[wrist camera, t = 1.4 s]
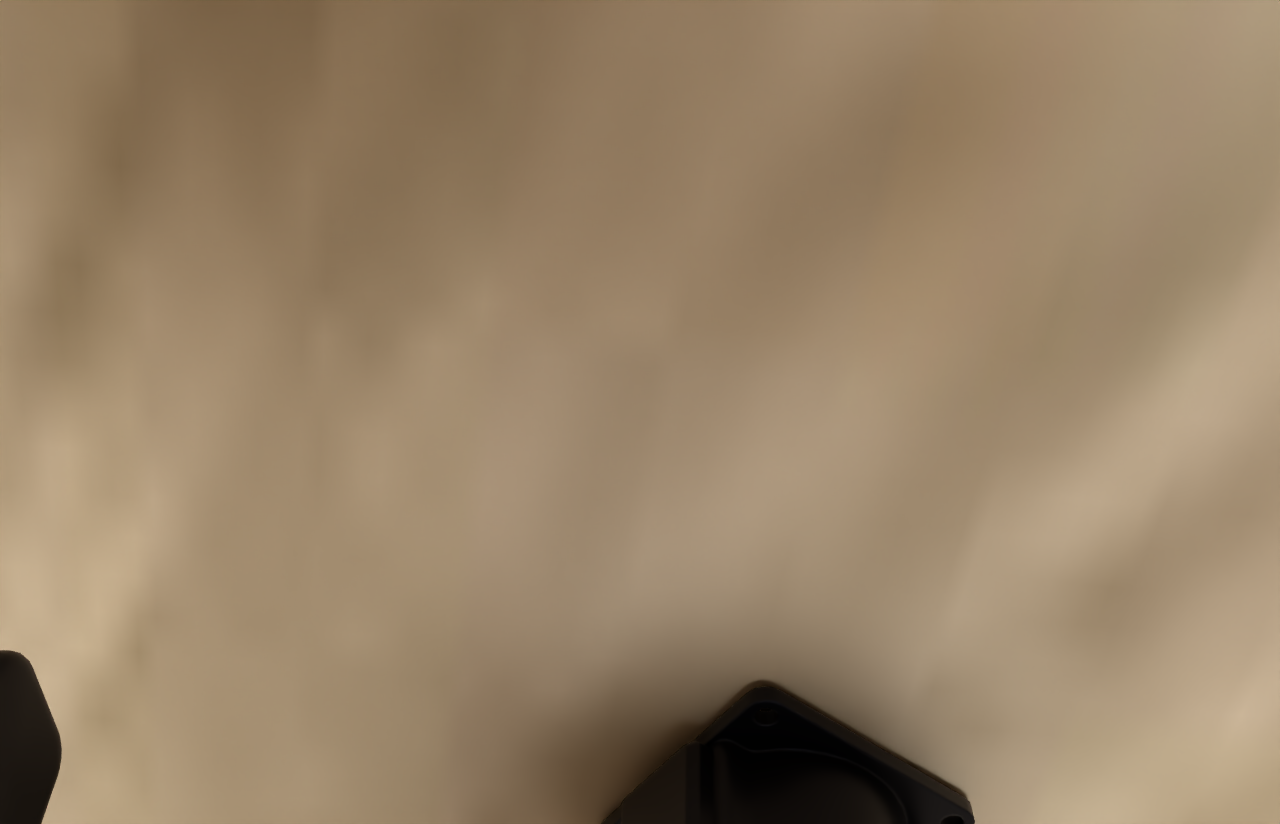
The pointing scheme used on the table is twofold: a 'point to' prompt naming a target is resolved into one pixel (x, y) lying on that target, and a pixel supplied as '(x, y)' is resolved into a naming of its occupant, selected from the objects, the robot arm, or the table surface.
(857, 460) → the table surface
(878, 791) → the robot arm
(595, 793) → the table surface
